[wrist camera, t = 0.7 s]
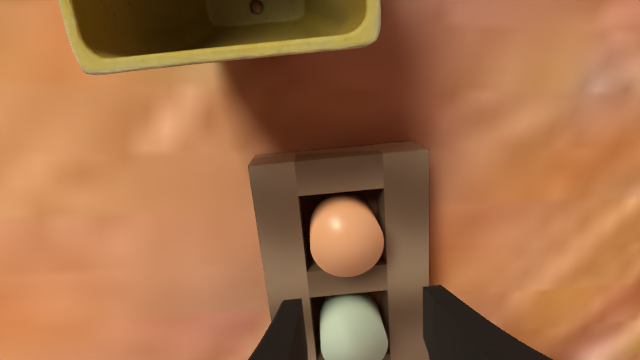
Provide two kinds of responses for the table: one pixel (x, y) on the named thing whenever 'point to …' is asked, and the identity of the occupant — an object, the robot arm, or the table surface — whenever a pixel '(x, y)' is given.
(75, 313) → the table surface
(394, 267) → the button board
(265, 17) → the flower pot
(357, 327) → the sage button
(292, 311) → the robot arm
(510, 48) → the table surface
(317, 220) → the orange button
